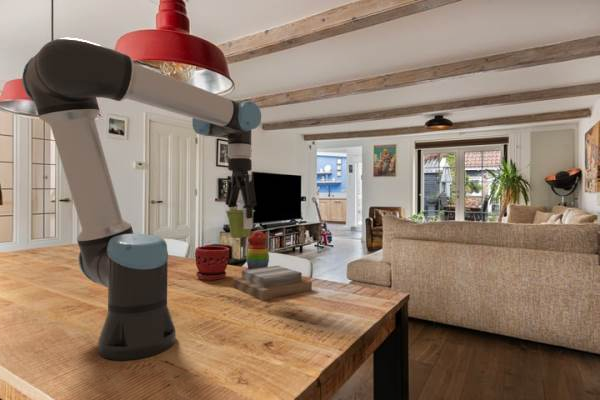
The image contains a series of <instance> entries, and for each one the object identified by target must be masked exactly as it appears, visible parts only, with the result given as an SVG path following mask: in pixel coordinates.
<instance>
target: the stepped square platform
mask: <svg viewBox="0 0 600 400" xmlns="http://www.w3.org/2000/svg"><path fill="white" fill-rule="evenodd" d="M302 277H303V276H302V272H301V271H297V270H294V269H291V268H287V267H284V266H281V265H271V266H268V267H264V268H257V269H249V270H246V269H243V270H242V271H241V276H239V277H236V278H235V277H233V278H232V288H234V289H236V290H238V291H240V292H242V293H245V294H247V295H249V296H251V297H253V298H256V299H257V300H260V301H267V300H270V299H275V298H279V297H285V296H290V295H295V294H296V295H297V294H299V293H301V294H302V293H305V292H309V291H312V283H313V282H312V281H311V280H308V279H304V278H302Z"/></svg>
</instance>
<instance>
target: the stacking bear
mask: <svg viewBox="0 0 600 400" xmlns="http://www.w3.org/2000/svg"><path fill="white" fill-rule="evenodd" d="M247 241H248V243H249V244H250V245H249V246H248V248H247V254H246V264H247V268H246V269H245V270H249V269H257V268H264V267H269V263H270V254H269V249H268V247H267V246H266V245H265V242H266V234H265V233H264V232H263V231H262V230H259V231H256V230H255V231H253V232H251V233H250V237H247Z"/></svg>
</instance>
